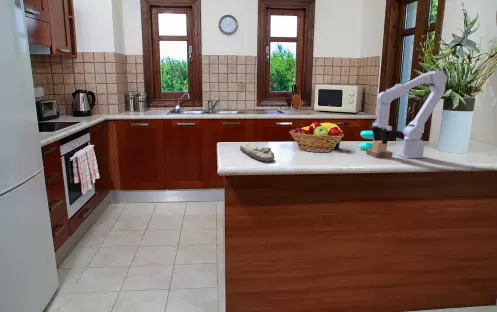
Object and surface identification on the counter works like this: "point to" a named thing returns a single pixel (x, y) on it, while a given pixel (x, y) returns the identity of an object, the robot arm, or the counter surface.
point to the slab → (379, 154)
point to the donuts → (369, 136)
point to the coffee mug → (337, 145)
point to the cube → (379, 146)
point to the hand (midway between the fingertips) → (380, 142)
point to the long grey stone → (258, 152)
